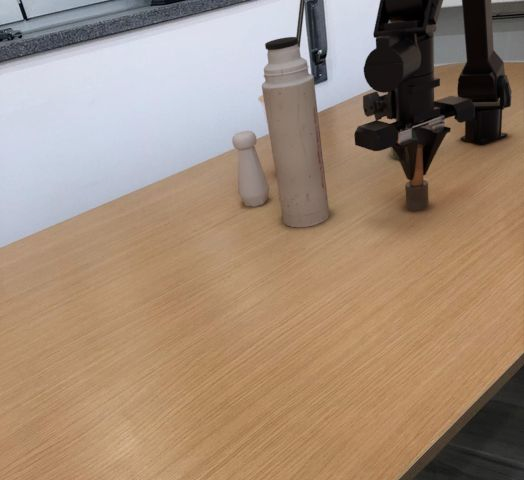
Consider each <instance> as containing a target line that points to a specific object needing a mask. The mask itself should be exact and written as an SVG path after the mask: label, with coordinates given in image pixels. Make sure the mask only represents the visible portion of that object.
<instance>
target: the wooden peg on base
mask: <svg viewBox="0 0 524 480" xmlns="http://www.w3.org/2000/svg"><path fill="white" fill-rule="evenodd" d="M404 191H405V192H404V193H405V209H406V210H407V211H410V212H421V211H425V210H426V209H428V208H429V181H427V180H426V179H425V178H424V176H423V145H421V144H418V147H417V156H416V165H415V173H414V177H413V180H408V181H407V182H406V183H405V184H404Z"/></svg>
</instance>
